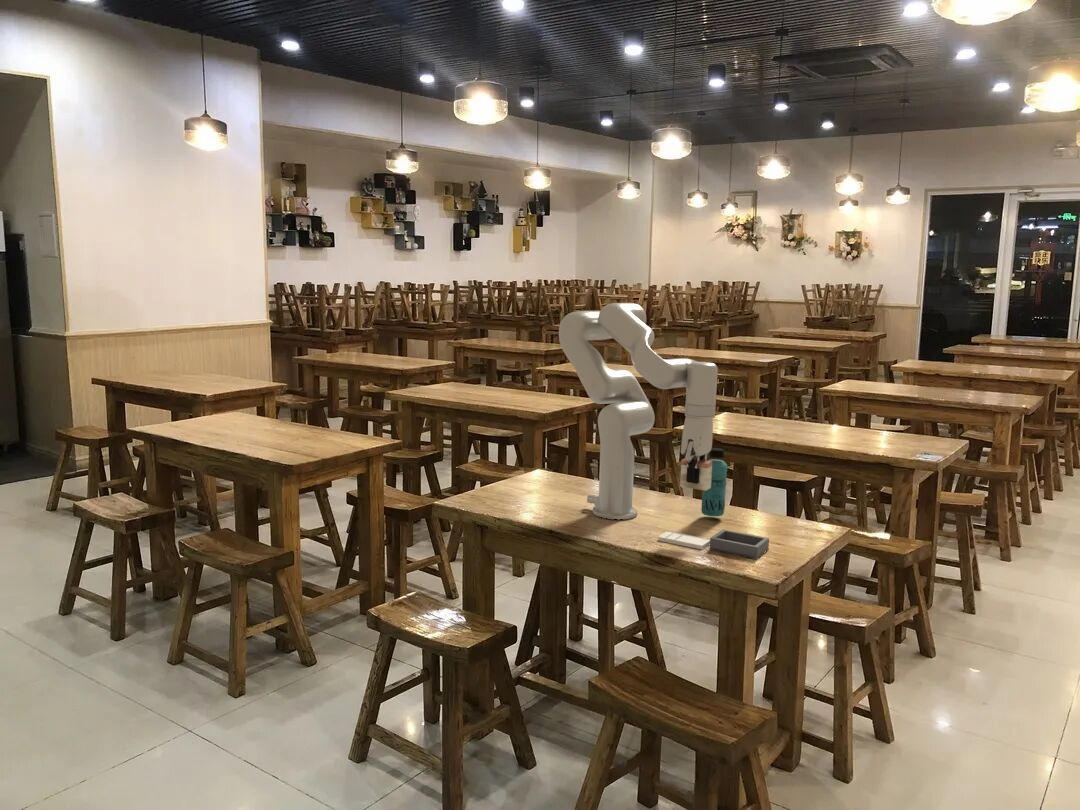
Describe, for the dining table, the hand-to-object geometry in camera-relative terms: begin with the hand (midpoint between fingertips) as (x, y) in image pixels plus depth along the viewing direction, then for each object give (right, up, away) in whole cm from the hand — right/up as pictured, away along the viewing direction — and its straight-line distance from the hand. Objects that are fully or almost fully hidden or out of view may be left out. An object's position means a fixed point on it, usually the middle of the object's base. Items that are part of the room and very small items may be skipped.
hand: (695, 480), depth 219 cm
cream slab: (-3, -15, -2) cm, 16 cm away
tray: (+10, -17, -7) cm, 20 cm away
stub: (0, -2, 0) cm, 2 cm away
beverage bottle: (+8, -13, +20) cm, 25 cm away
